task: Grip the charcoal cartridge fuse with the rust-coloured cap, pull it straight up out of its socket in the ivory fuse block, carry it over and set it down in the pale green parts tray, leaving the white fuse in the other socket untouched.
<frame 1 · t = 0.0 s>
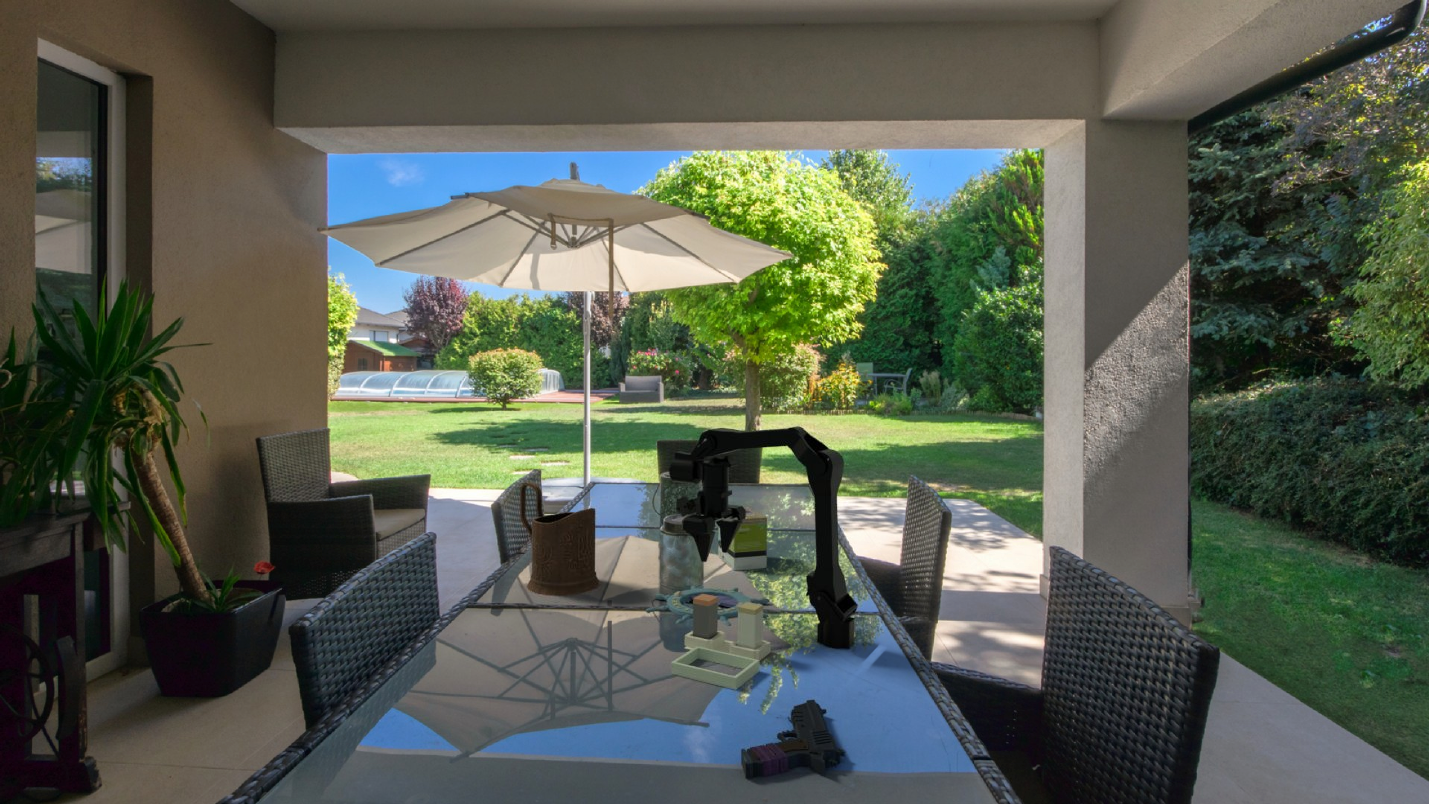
hand: (714, 557, 166), 15 cm above the table, tool pointing down, fingers open, 9 cm apart
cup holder: (555, 583, 195), on the table
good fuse: (749, 653, 146), point 1 cm above the table, touching fuse block
tea box: (741, 563, 217), on the table
parts tray: (715, 677, 138), on the table
handgun: (788, 747, 114), on the table
fuse block: (726, 653, 149), on the table
blown fuse: (704, 643, 151), point 1 cm above the table, touching fuse block
decorative ship wheel: (709, 611, 176), on the table
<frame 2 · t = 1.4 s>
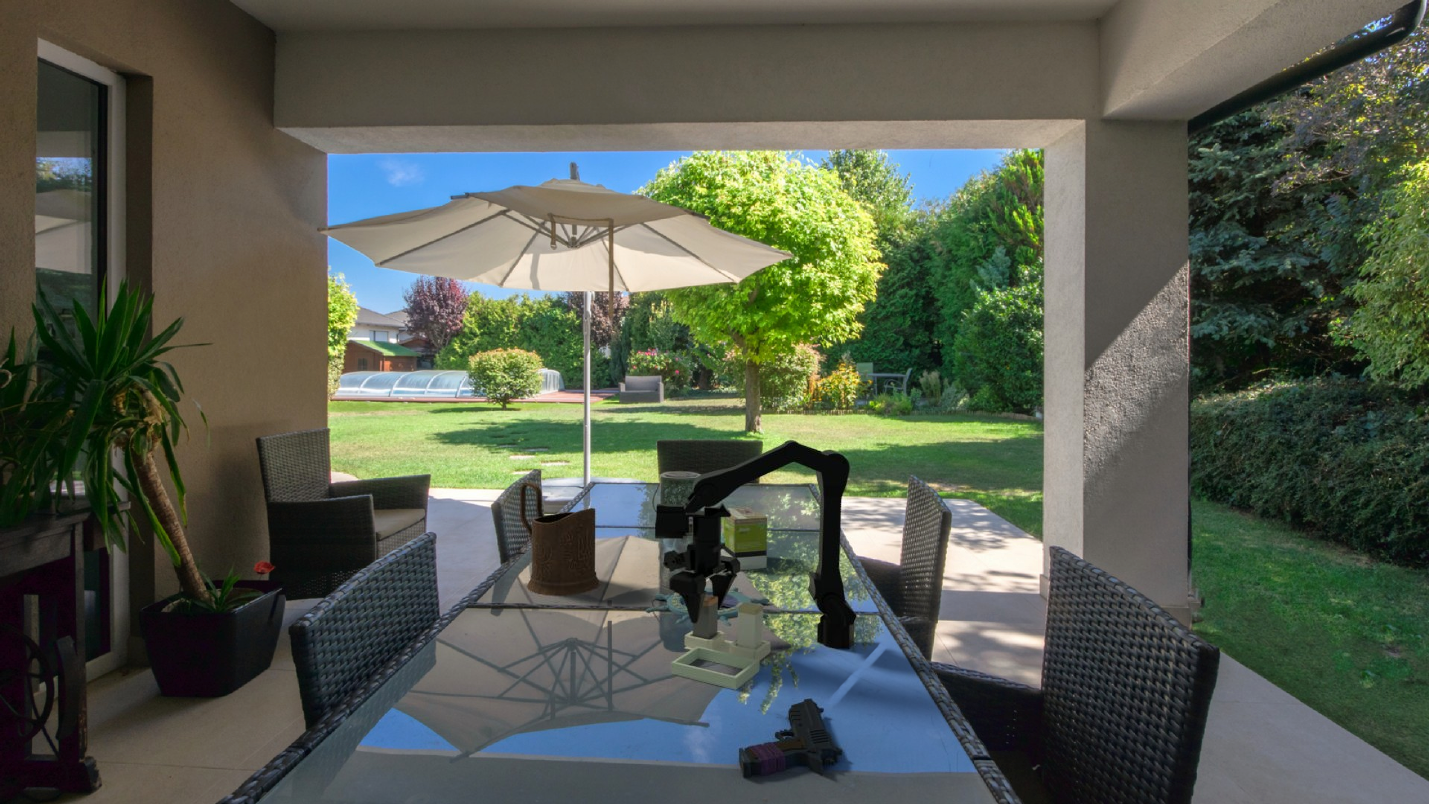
hand: (705, 616, 151), 7 cm above the table, tool pointing down, fingers open, 9 cm apart
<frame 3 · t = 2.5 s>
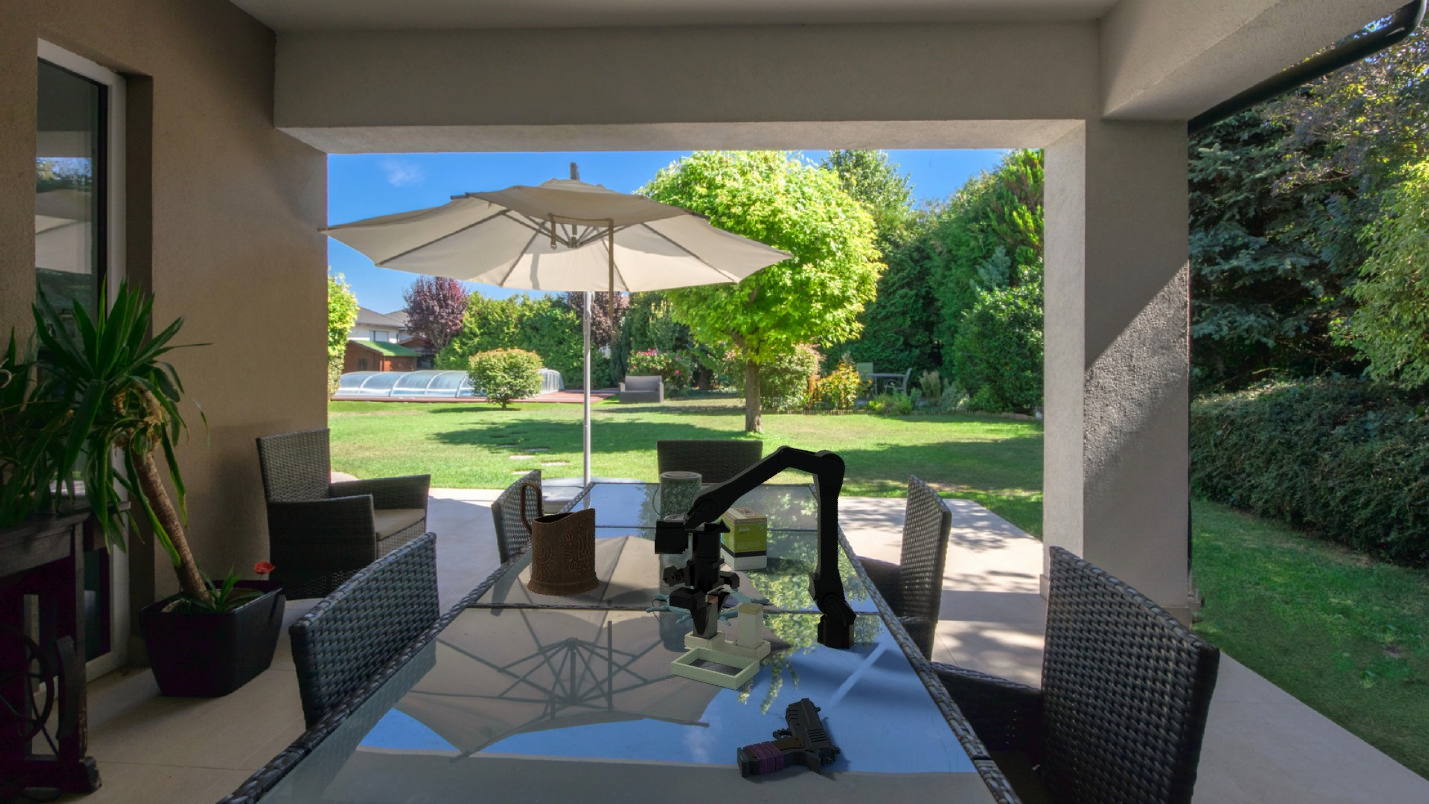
hand: (705, 631, 151), 4 cm above the table, tool pointing down, fingers closed on blown fuse, 4 cm apart
blown fuse: (704, 643, 151), point 1 cm above the table, touching fuse block, gripper
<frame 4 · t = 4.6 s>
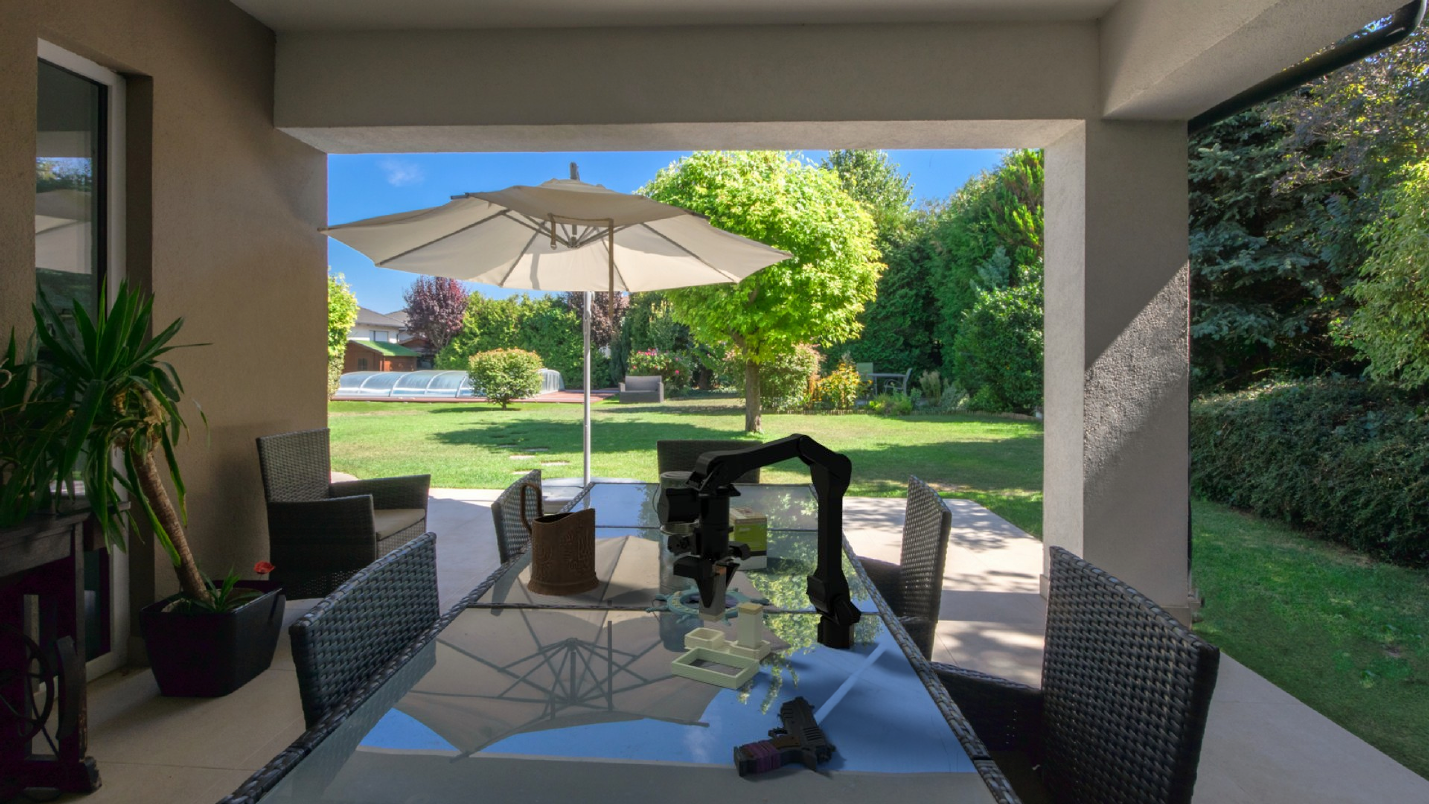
hand: (712, 604, 140), 12 cm above the table, tool pointing down, fingers closed on blown fuse, 4 cm apart
blown fuse: (712, 618, 141), point 10 cm above the table, touching gripper
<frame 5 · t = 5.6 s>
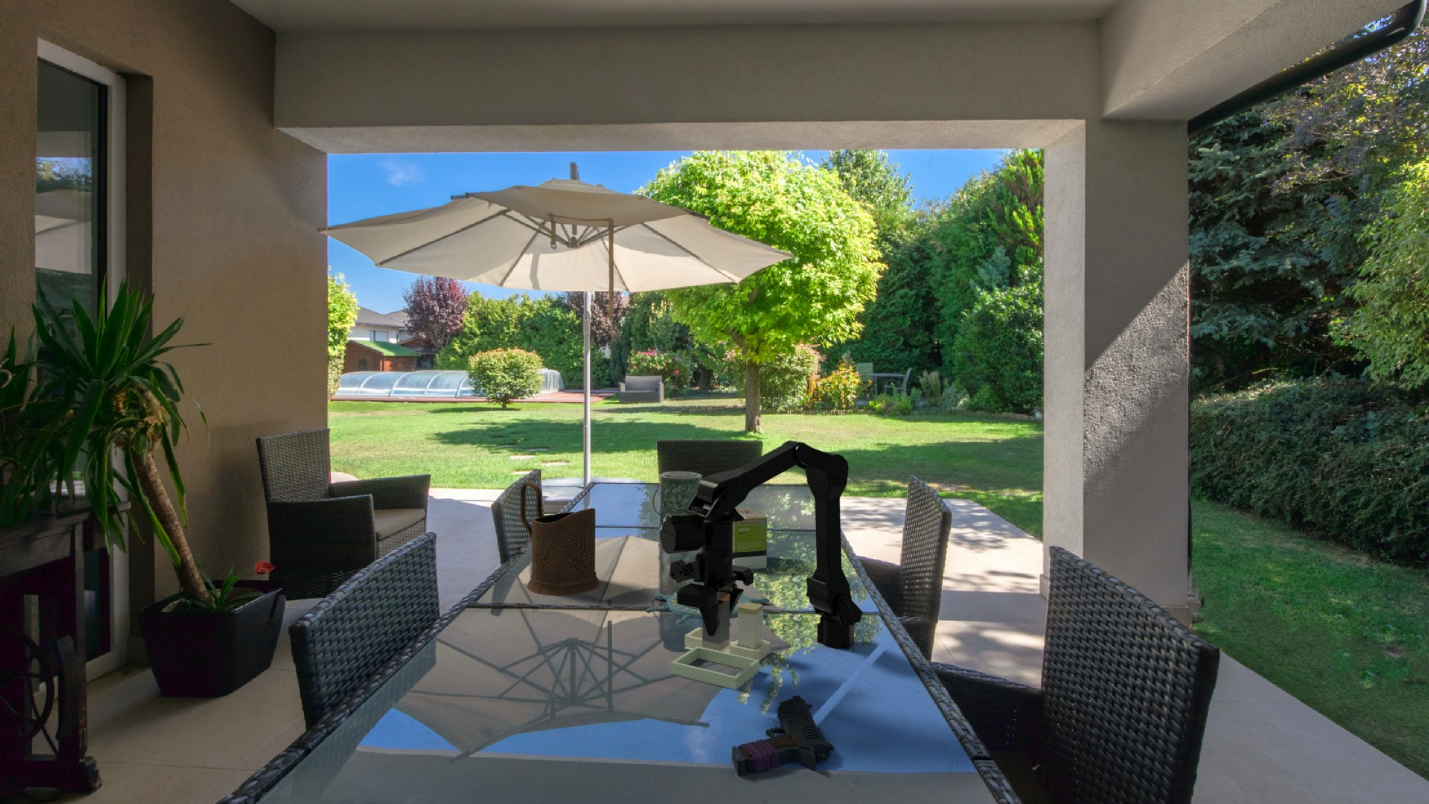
hand: (716, 632, 137), 8 cm above the table, tool pointing down, fingers closed on blown fuse, 4 cm apart
blown fuse: (715, 645, 137), point 6 cm above the table, touching gripper
when the fingers open (4 cm above the table, at t = 6.6 s): blown fuse drops 1 cm, resting on parts tray.
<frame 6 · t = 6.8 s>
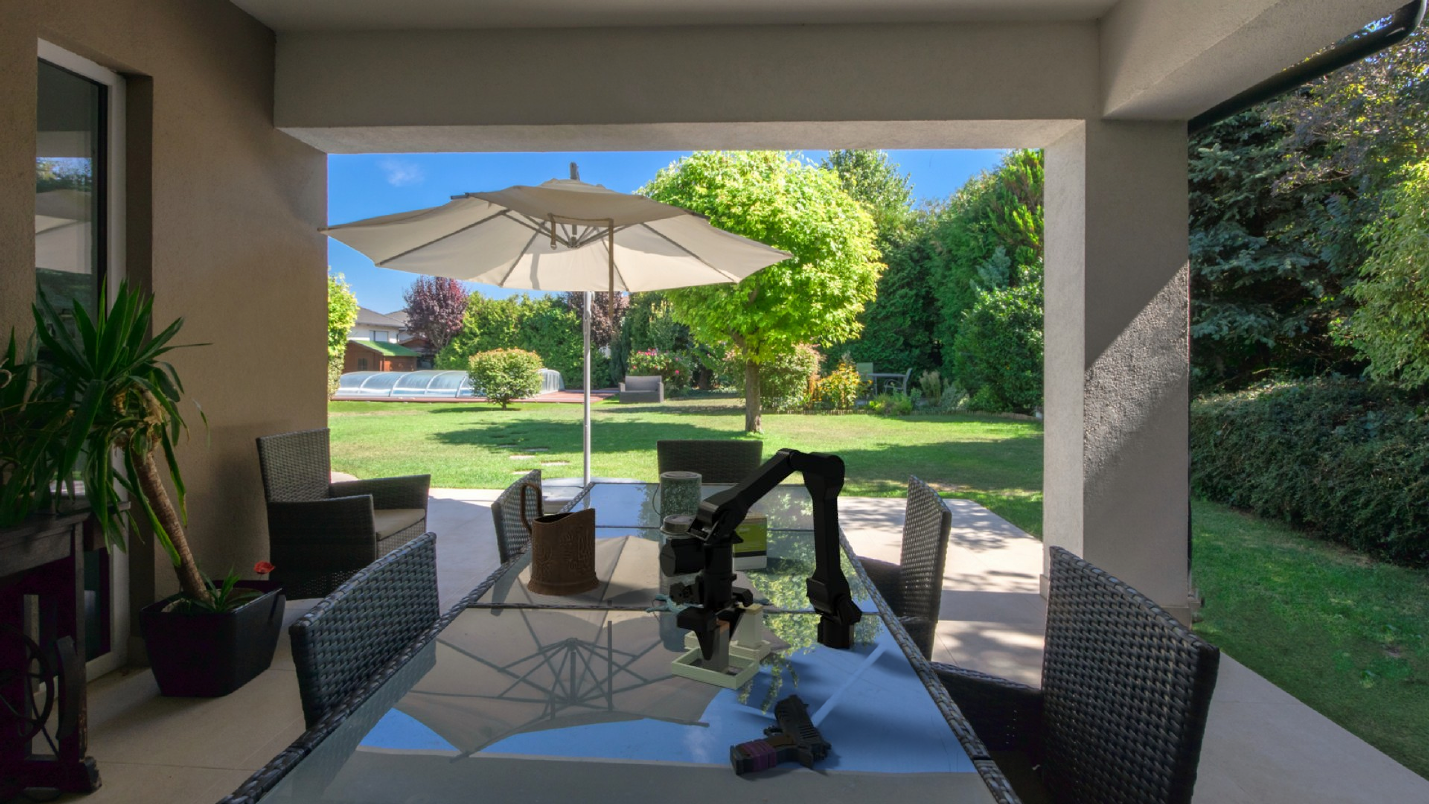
hand: (715, 654, 137), 4 cm above the table, tool pointing down, fingers open, 6 cm apart
blown fuse: (715, 674, 138), point 1 cm above the table, touching parts tray
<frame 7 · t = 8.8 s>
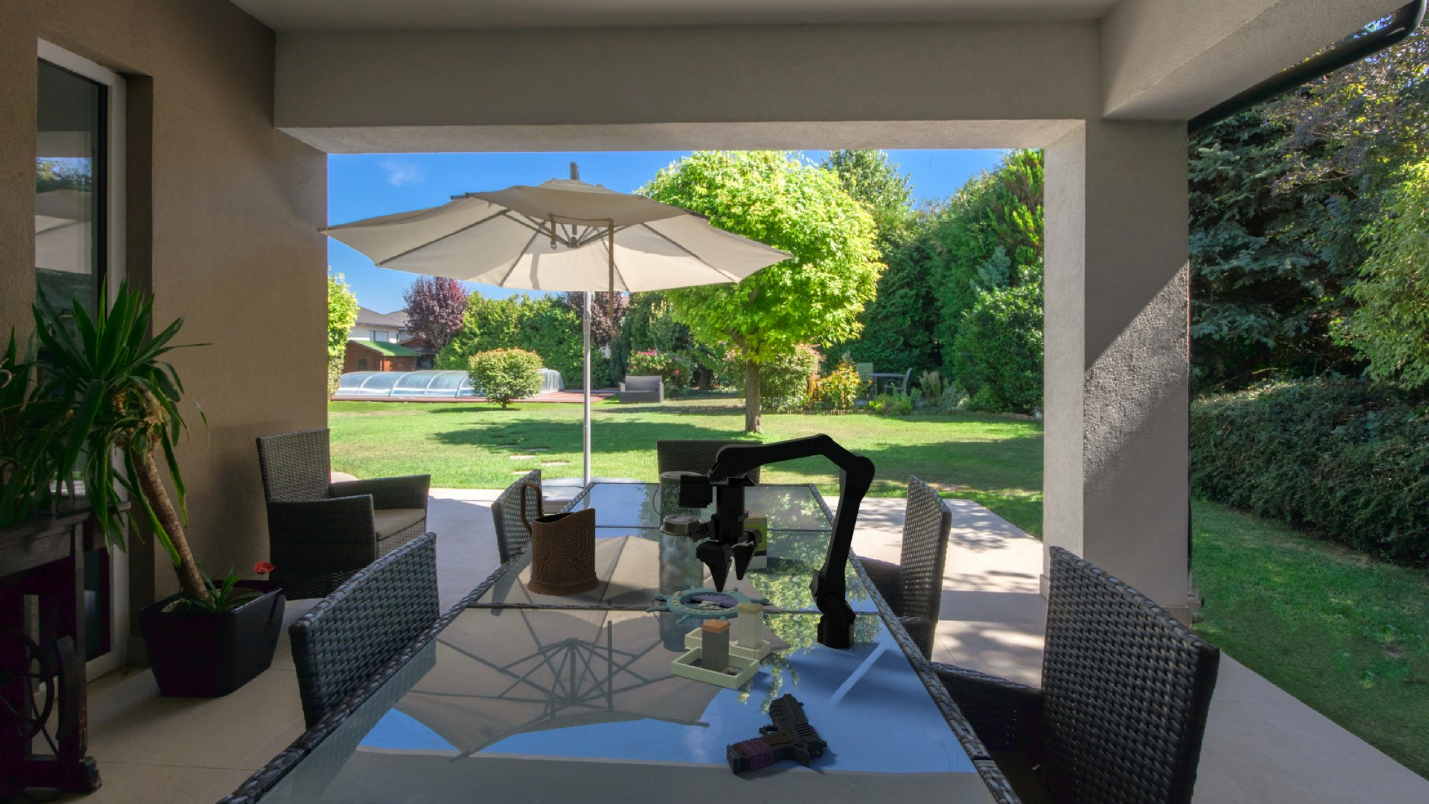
hand: (729, 585, 151), 13 cm above the table, tool pointing down, fingers open, 9 cm apart
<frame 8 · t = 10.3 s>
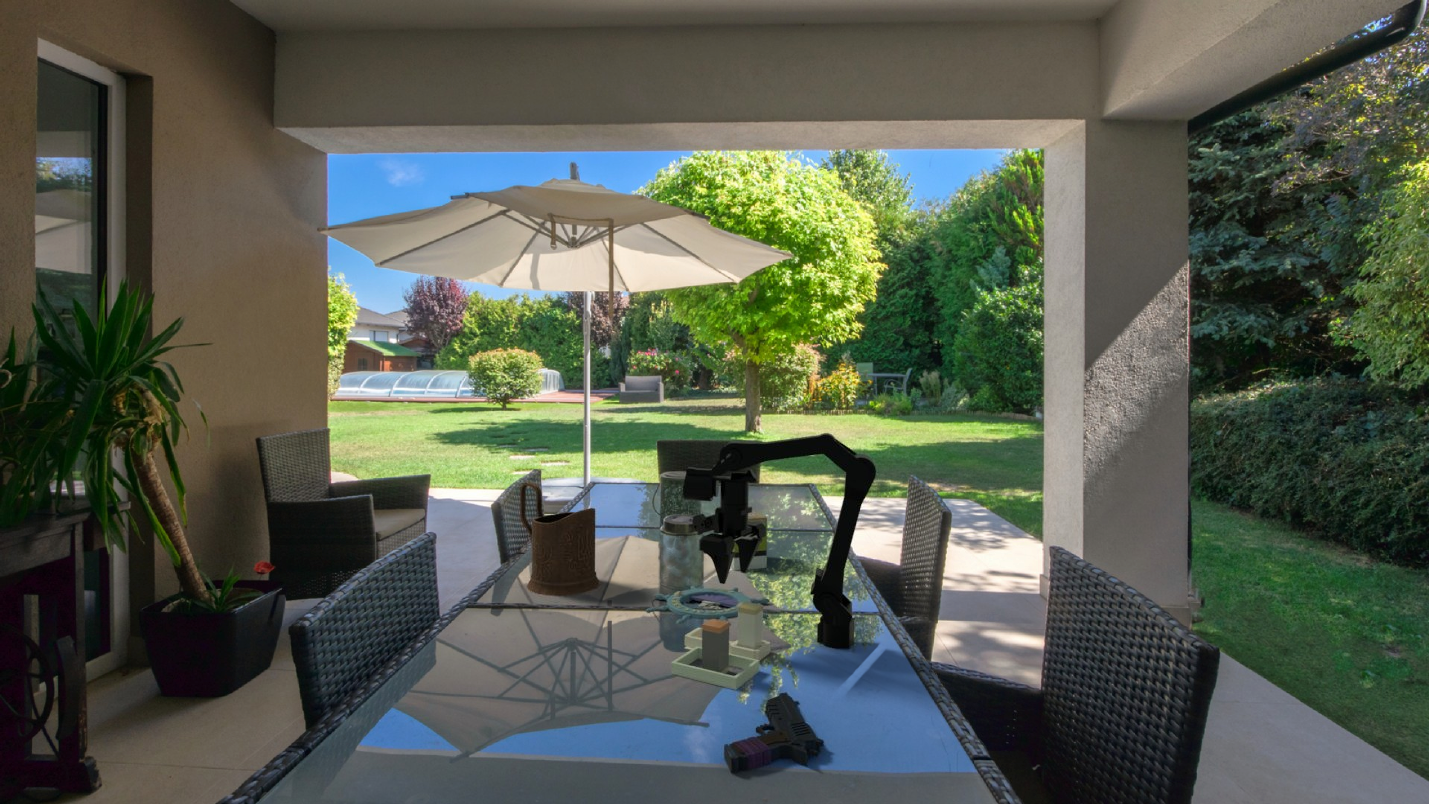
hand: (733, 578, 156), 13 cm above the table, tool pointing down, fingers open, 9 cm apart
at the end: blown fuse inside the target area on the parts tray (0.0 cm from its centre), point 0.6 cm above the parts tray's base; the gripper is holding nothing; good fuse moved 0.0 cm from its start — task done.
